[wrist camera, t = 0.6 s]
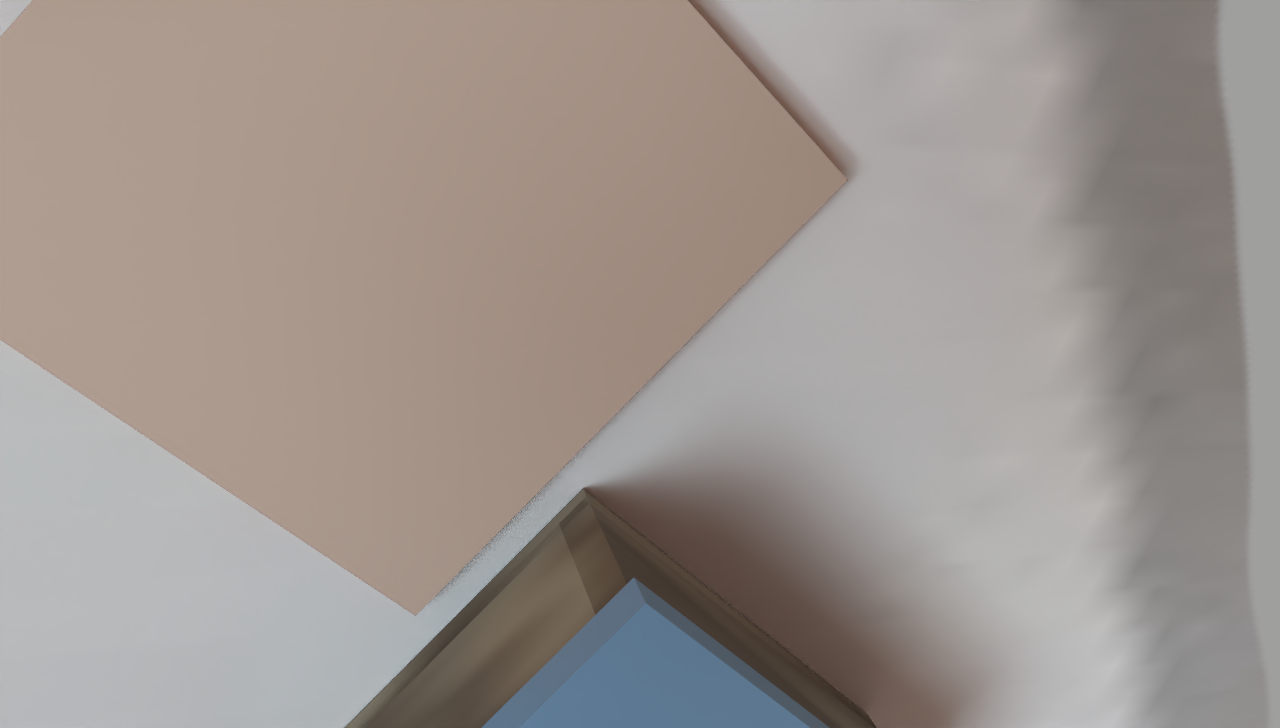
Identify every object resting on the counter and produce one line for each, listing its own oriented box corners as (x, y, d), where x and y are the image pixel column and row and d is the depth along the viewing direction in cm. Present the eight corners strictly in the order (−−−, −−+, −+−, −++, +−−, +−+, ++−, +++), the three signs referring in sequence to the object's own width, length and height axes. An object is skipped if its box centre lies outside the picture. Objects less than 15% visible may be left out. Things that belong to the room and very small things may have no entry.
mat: (412, 598, 25) (415, 615, 24) (-156, 217, 19) (-169, 227, 19) (835, 171, 24) (847, 180, 23) (355, -365, 18) (358, -371, 18)
